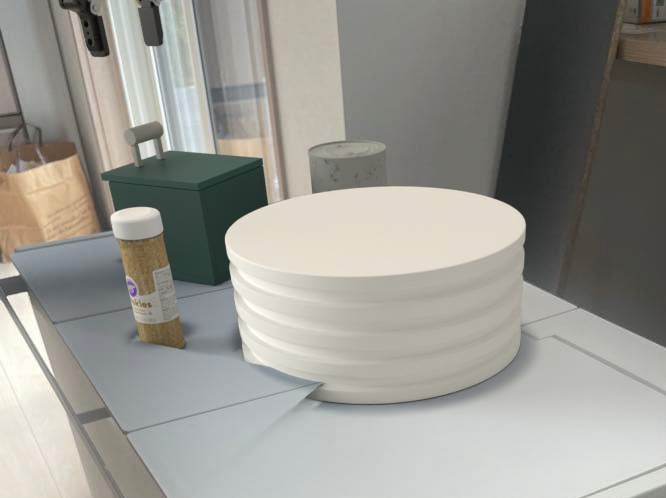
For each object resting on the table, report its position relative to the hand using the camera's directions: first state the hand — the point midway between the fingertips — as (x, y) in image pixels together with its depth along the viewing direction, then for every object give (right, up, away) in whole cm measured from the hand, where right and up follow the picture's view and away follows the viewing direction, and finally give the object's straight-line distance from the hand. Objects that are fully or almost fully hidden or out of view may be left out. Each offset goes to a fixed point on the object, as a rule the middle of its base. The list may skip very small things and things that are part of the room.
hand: (128, 51), depth 92 cm
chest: (+5, -18, +15) cm, 24 cm away
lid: (+4, -10, +9) cm, 13 cm away
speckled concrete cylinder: (+24, -17, +17) cm, 33 cm away
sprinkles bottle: (+6, -34, -6) cm, 35 cm away
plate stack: (+28, -34, -7) cm, 45 cm away
